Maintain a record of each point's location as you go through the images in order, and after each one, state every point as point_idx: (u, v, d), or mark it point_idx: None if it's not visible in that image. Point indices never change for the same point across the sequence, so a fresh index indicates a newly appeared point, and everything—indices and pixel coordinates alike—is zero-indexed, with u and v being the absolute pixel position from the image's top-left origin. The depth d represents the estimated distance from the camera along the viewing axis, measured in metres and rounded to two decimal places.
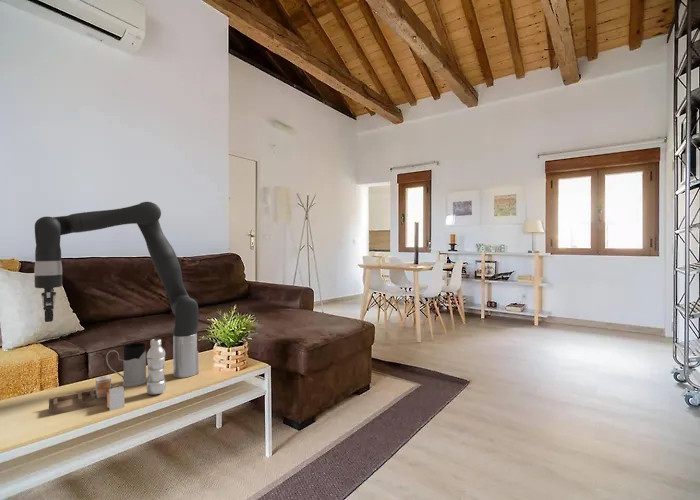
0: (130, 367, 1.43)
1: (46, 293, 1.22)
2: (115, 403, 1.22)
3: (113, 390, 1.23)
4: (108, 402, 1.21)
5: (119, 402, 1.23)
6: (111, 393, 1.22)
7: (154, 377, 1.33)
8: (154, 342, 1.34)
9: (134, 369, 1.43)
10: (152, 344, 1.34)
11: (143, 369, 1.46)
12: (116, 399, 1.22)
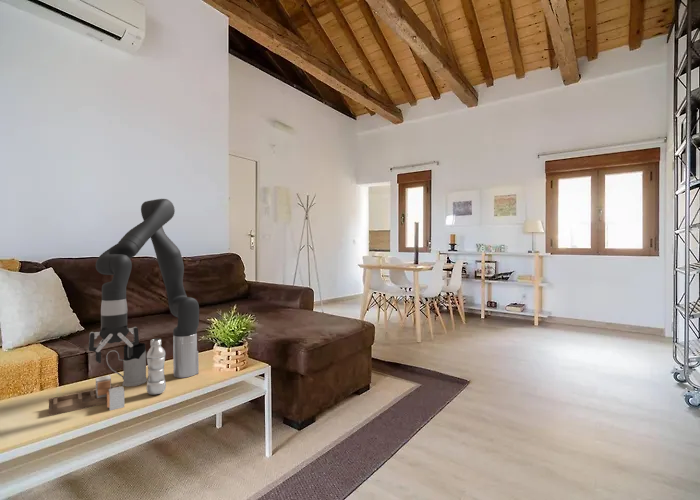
0: (130, 367, 1.43)
1: (137, 328, 1.28)
2: (115, 403, 1.22)
3: (113, 390, 1.23)
4: (108, 402, 1.21)
5: (119, 402, 1.23)
6: (111, 393, 1.22)
7: (154, 377, 1.33)
8: (154, 342, 1.34)
9: (134, 369, 1.43)
10: (152, 344, 1.34)
11: (143, 369, 1.46)
12: (116, 399, 1.22)
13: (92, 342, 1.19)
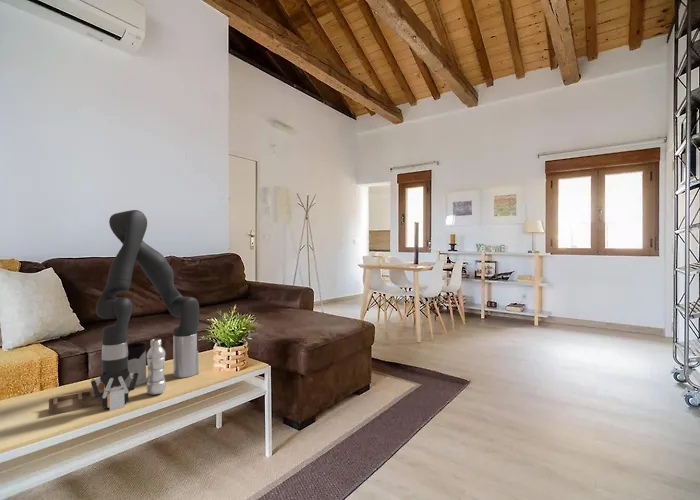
0: (130, 367, 1.43)
1: (137, 373, 1.28)
2: (115, 403, 1.22)
3: (113, 390, 1.23)
4: (108, 402, 1.21)
5: (119, 402, 1.23)
6: (111, 393, 1.22)
7: (154, 377, 1.33)
8: (154, 342, 1.34)
9: (134, 369, 1.43)
10: (152, 344, 1.34)
11: (143, 369, 1.46)
12: (116, 399, 1.22)
13: (96, 389, 1.20)
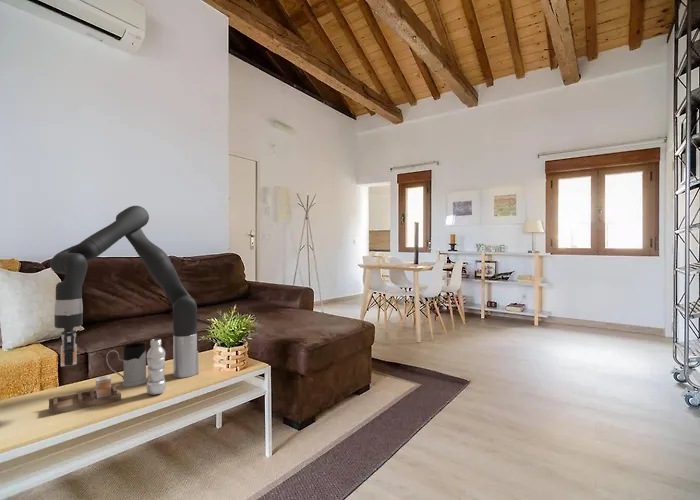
0: (130, 367, 1.43)
1: None
2: None
3: None
4: (75, 356, 1.22)
5: None
6: (76, 347, 1.22)
7: (154, 377, 1.33)
8: (154, 342, 1.34)
9: (134, 369, 1.43)
10: (152, 344, 1.34)
11: (143, 369, 1.46)
12: None
13: (73, 344, 1.19)
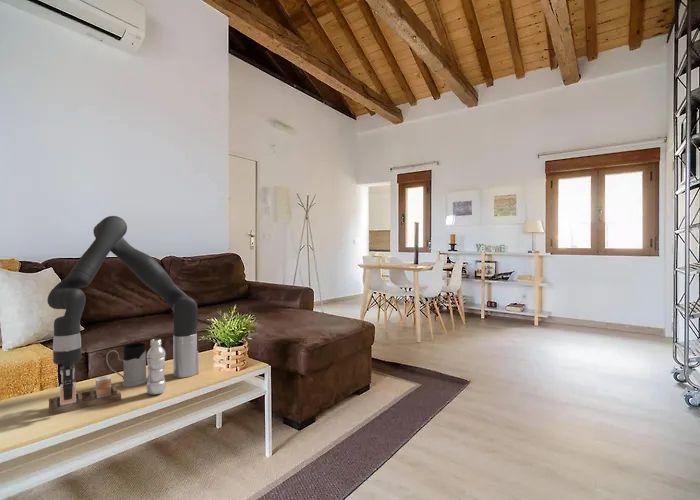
0: (130, 367, 1.43)
1: None
2: None
3: None
4: (74, 395, 1.22)
5: None
6: (75, 385, 1.23)
7: (154, 377, 1.33)
8: (154, 342, 1.34)
9: (134, 369, 1.43)
10: (152, 344, 1.34)
11: (143, 369, 1.46)
12: None
13: (72, 378, 1.18)
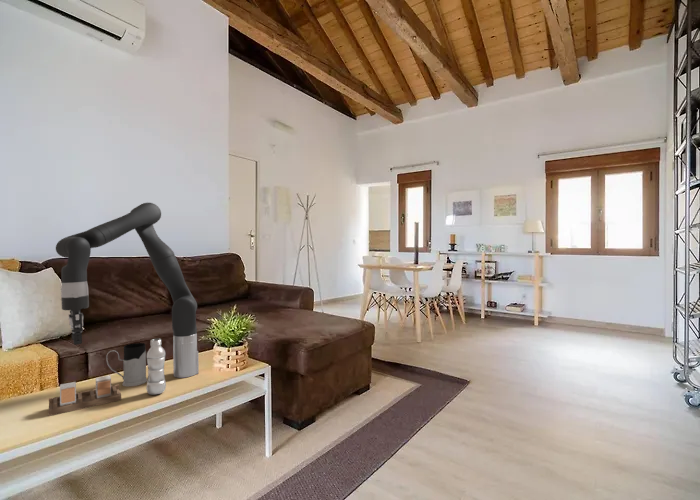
0: (130, 367, 1.43)
1: None
2: None
3: (70, 385, 1.23)
4: (74, 395, 1.22)
5: None
6: (75, 385, 1.23)
7: (154, 377, 1.33)
8: (154, 342, 1.34)
9: (134, 369, 1.43)
10: (152, 344, 1.34)
11: (143, 369, 1.46)
12: None
13: (81, 322, 1.22)
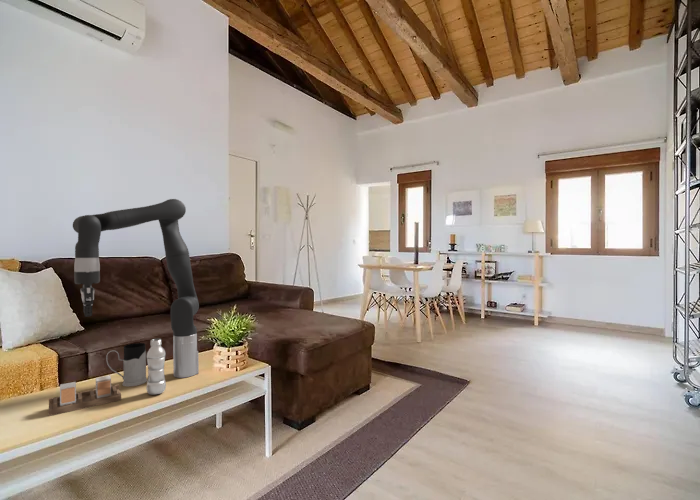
0: (130, 367, 1.43)
1: None
2: None
3: (70, 385, 1.23)
4: (74, 395, 1.22)
5: None
6: (75, 385, 1.23)
7: (154, 377, 1.33)
8: (154, 342, 1.34)
9: (134, 369, 1.43)
10: (152, 344, 1.34)
11: (143, 369, 1.46)
12: None
13: (92, 296, 1.28)
